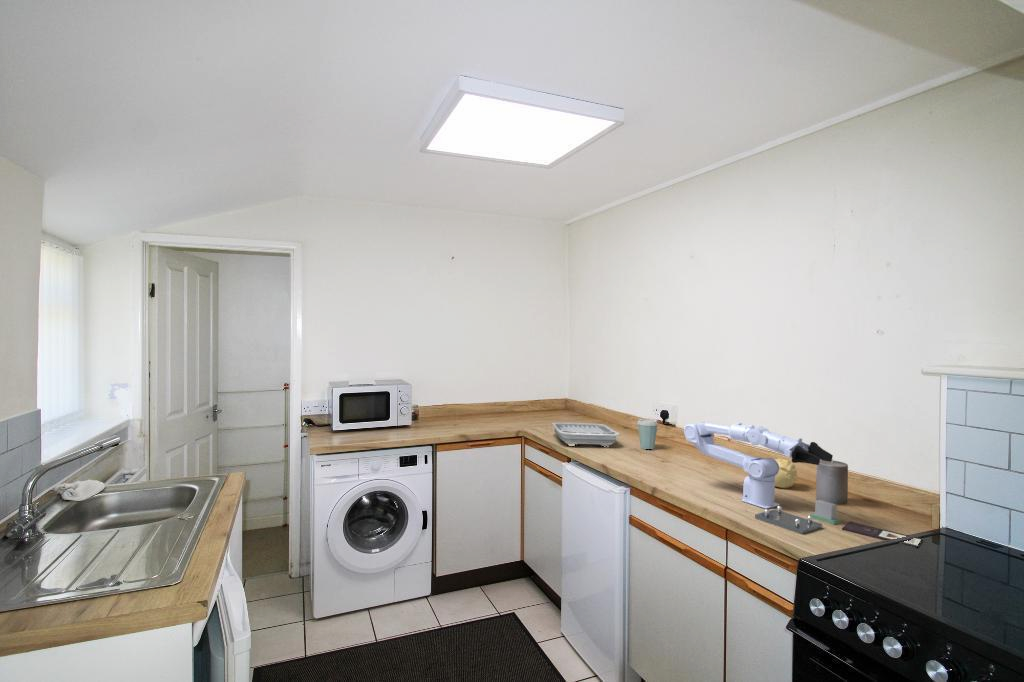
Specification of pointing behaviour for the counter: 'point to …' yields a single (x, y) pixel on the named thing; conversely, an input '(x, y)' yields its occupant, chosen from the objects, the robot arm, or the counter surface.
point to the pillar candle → (832, 482)
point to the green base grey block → (825, 512)
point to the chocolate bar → (879, 533)
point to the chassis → (789, 521)
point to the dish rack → (585, 433)
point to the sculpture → (785, 474)
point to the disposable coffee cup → (647, 432)
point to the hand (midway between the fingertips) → (825, 460)
